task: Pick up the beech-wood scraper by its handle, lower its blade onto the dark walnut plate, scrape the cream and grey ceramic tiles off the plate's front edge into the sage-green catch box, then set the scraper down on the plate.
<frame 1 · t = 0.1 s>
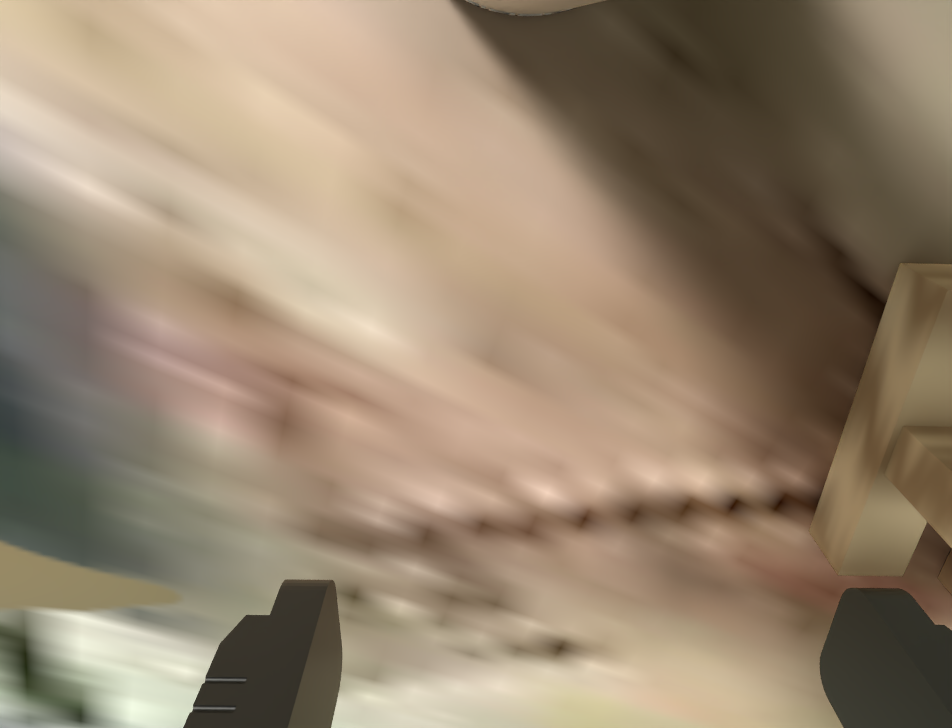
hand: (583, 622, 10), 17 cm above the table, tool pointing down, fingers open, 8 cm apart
scraper: (881, 411, 29), on the table
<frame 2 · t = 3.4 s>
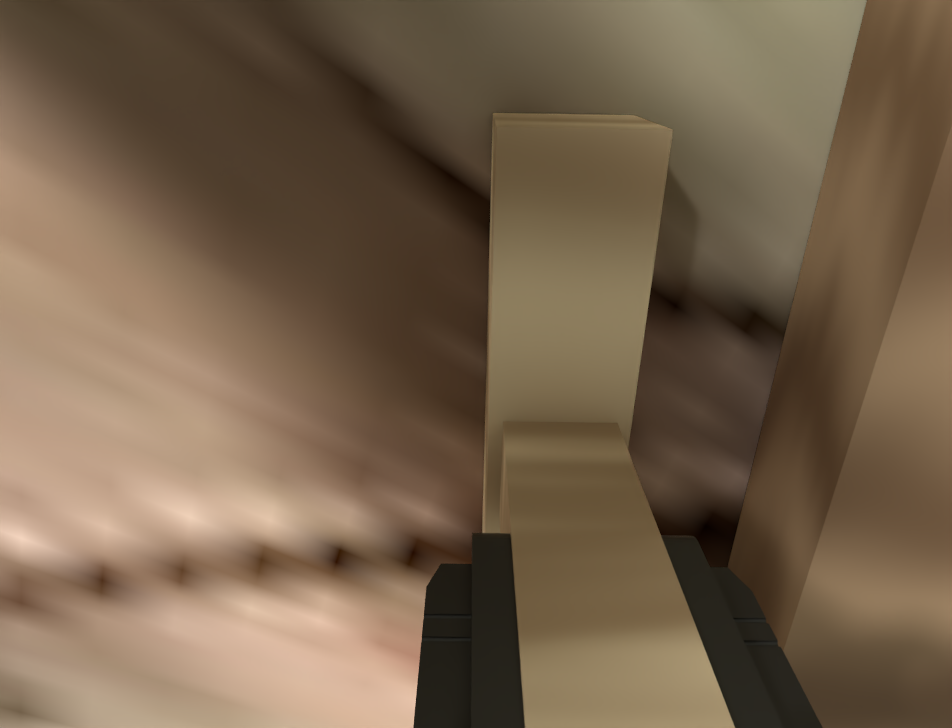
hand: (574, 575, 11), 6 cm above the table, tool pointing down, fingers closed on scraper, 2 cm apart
scraper: (543, 402, 17), on the table, touching gripper
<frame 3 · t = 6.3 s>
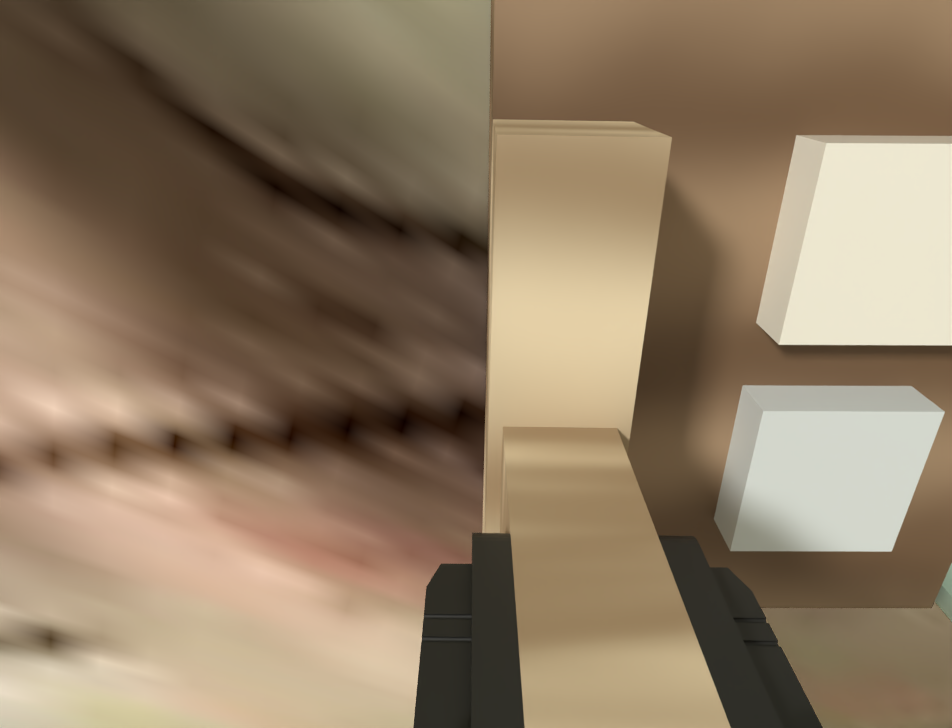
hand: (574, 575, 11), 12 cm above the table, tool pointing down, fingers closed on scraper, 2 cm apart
cream tile: (869, 235, 17), point 3 cm above the table, touching walnut plate
grey tile: (807, 456, 20), point 3 cm above the table, touching walnut plate
scraper: (543, 406, 17), point 6 cm above the table, touching gripper
walnut plate: (723, 310, 22), on the table
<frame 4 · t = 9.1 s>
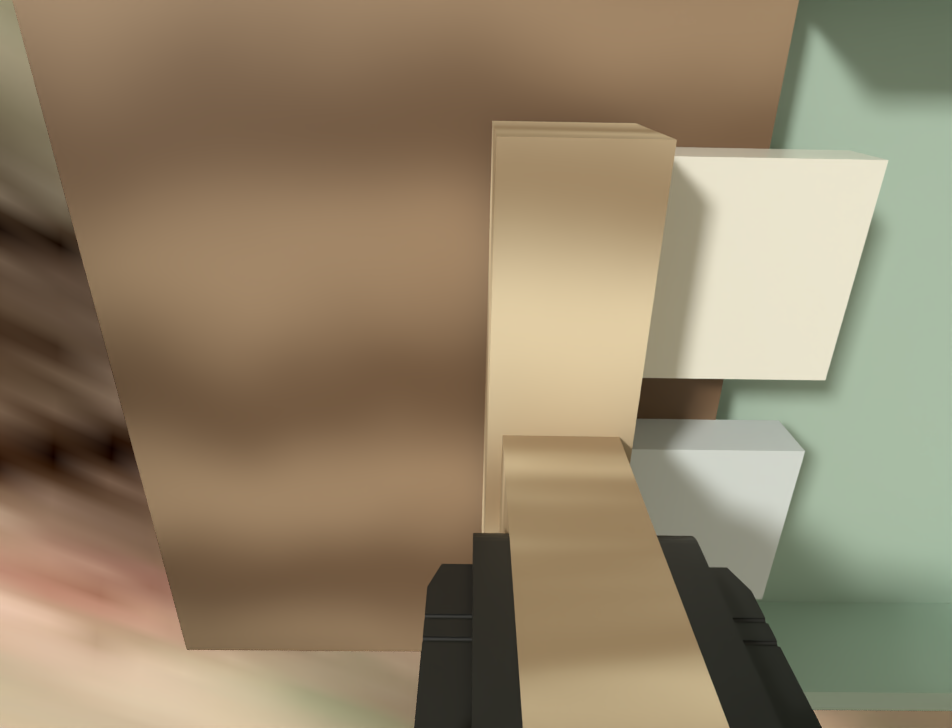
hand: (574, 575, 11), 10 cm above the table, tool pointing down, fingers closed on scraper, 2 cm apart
cream tile: (717, 257, 15), point 4 cm above the table, touching scraper
catch box: (884, 336, 20), on the table
grey tile: (672, 494, 18), point 4 cm above the table, touching scraper, walnut plate
scraper: (543, 413, 16), point 4 cm above the table, touching cream tile, grey tile, gripper
walnut plate: (428, 332, 20), on the table
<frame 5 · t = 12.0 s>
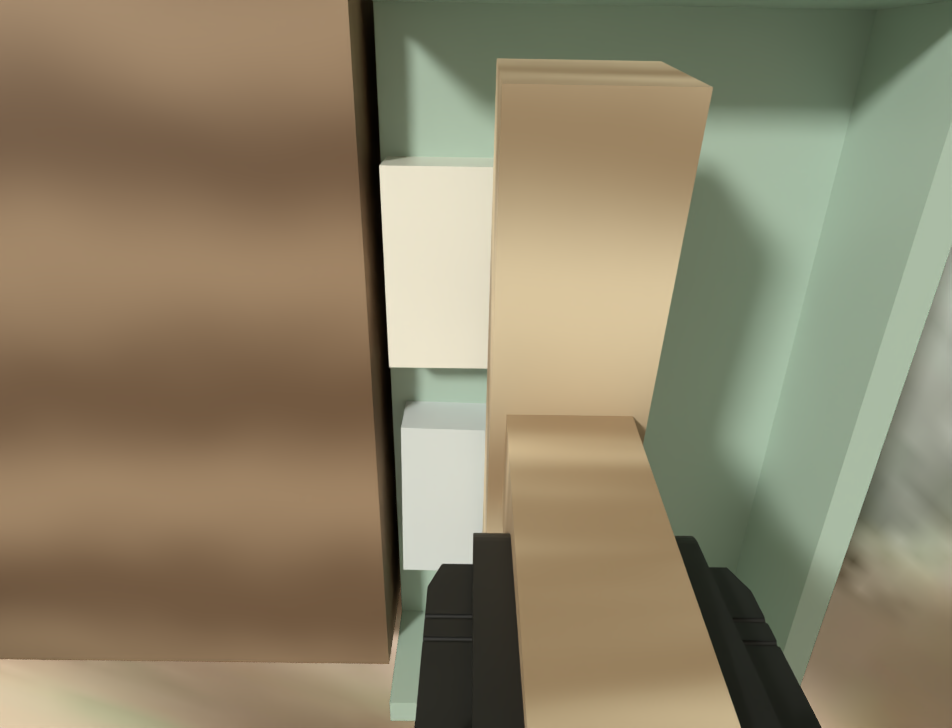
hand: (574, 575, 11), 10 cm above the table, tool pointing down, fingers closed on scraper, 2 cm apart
cream tile: (487, 257, 17), point 2 cm above the table, touching catch box
catch box: (590, 347, 20), on the table
grey tile: (488, 474, 20), point 2 cm above the table, touching catch box
scraper: (549, 381, 15), point 5 cm above the table, tilted 6°, touching gripper
walnut plate: (132, 340, 20), on the table
when the fingers open (10 cm above the table, at t = 14.4 s): scraper drops 3 cm, resting on walnut plate.
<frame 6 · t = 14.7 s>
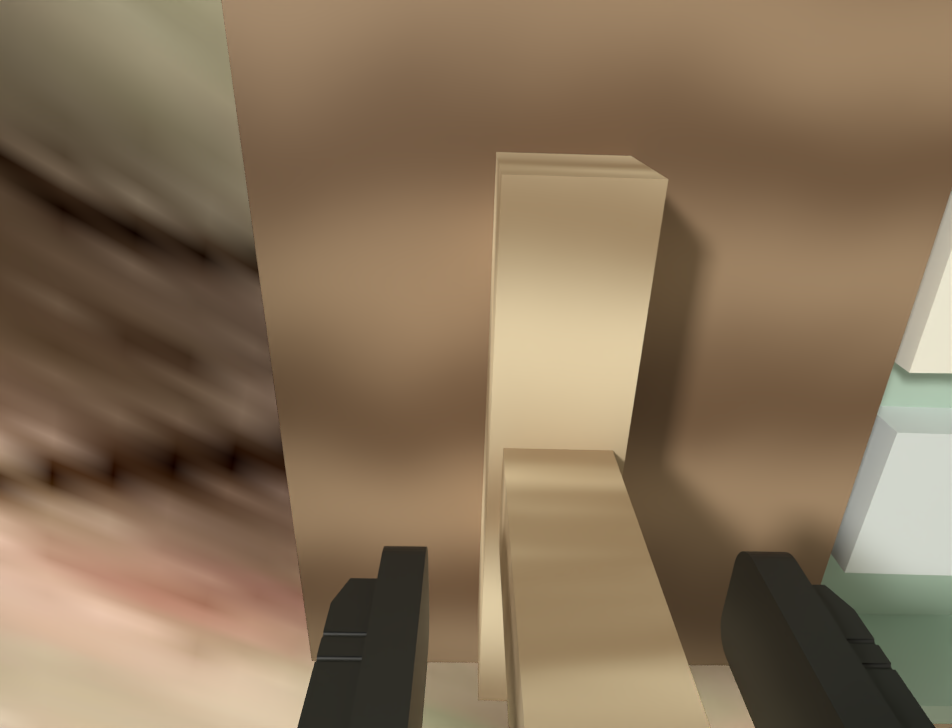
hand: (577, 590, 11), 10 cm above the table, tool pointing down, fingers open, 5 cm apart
grey tile: (922, 478, 20), point 2 cm above the table, touching catch box
scraper: (540, 425, 17), point 4 cm above the table, touching walnut plate
walnut plate: (562, 345, 20), on the table
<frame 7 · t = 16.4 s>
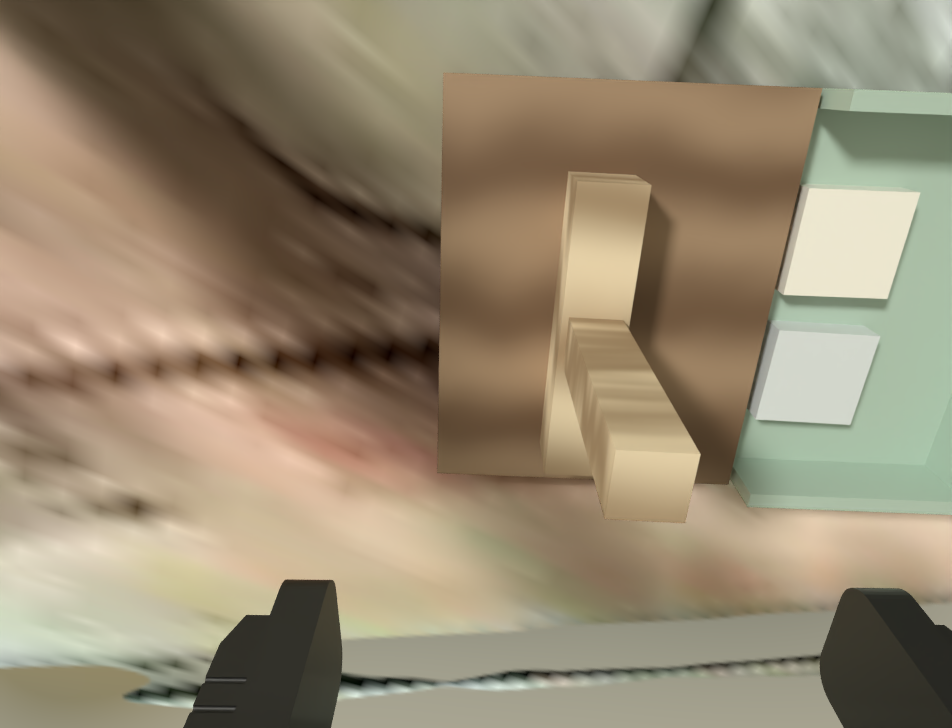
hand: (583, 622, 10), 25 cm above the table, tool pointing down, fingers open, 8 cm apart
cream tile: (833, 238, 31), point 2 cm above the table, touching catch box
catch box: (859, 295, 34), on the table
grey tile: (802, 366, 34), point 2 cm above the table, touching catch box
scraper: (583, 320, 31), point 3 cm above the table, touching walnut plate
walnut plate: (593, 284, 34), on the table
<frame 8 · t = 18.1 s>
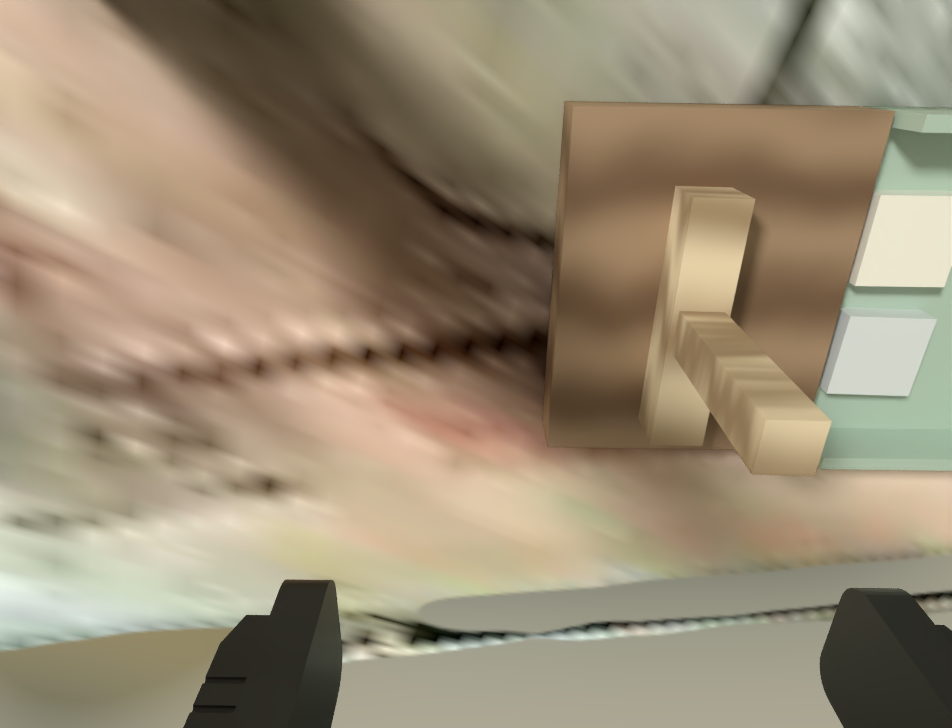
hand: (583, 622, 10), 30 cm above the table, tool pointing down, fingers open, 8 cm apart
cream tile: (897, 235, 36), point 2 cm above the table, touching catch box
catch box: (914, 283, 39), on the table
grey tile: (866, 347, 39), point 2 cm above the table, touching catch box
scraper: (681, 312, 36), point 3 cm above the table, touching walnut plate
walnut plate: (682, 279, 39), on the table
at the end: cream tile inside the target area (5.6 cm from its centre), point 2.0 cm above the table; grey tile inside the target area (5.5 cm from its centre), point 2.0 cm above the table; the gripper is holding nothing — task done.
